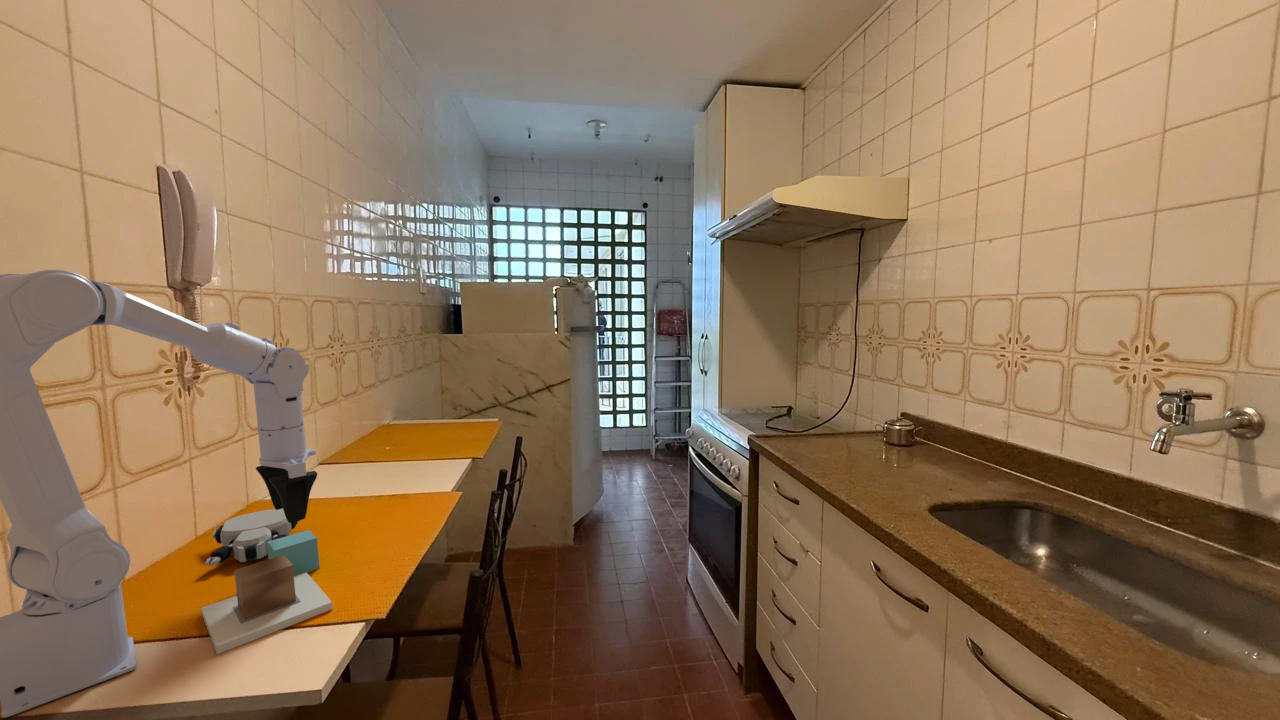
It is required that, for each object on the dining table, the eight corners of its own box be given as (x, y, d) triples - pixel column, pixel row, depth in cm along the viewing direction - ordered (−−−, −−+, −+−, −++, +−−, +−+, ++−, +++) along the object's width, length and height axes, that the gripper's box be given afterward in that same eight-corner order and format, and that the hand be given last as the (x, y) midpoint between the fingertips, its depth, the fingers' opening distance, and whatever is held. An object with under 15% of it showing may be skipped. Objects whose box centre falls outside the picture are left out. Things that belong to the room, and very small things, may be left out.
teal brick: (277, 583, 75) (274, 550, 75) (270, 573, 78) (267, 541, 78) (319, 568, 79) (317, 537, 79) (311, 559, 82) (308, 530, 82)
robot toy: (298, 561, 84) (302, 523, 96) (296, 535, 83) (300, 501, 96) (202, 583, 77) (219, 540, 90) (198, 556, 77) (216, 516, 89)
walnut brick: (244, 619, 64) (240, 581, 64) (238, 606, 67) (234, 569, 67) (296, 601, 68) (292, 565, 68) (287, 589, 71) (284, 554, 71)
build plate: (217, 654, 59) (216, 645, 59) (202, 614, 67) (201, 606, 67) (332, 609, 68) (332, 601, 68) (306, 578, 76) (306, 571, 76)
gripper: (326, 428, 75) (334, 517, 76) (299, 416, 84) (306, 495, 86) (268, 437, 69) (277, 533, 71) (246, 423, 79) (255, 508, 81)
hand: (289, 513), depth 78 cm, fingers open, 7 cm apart
